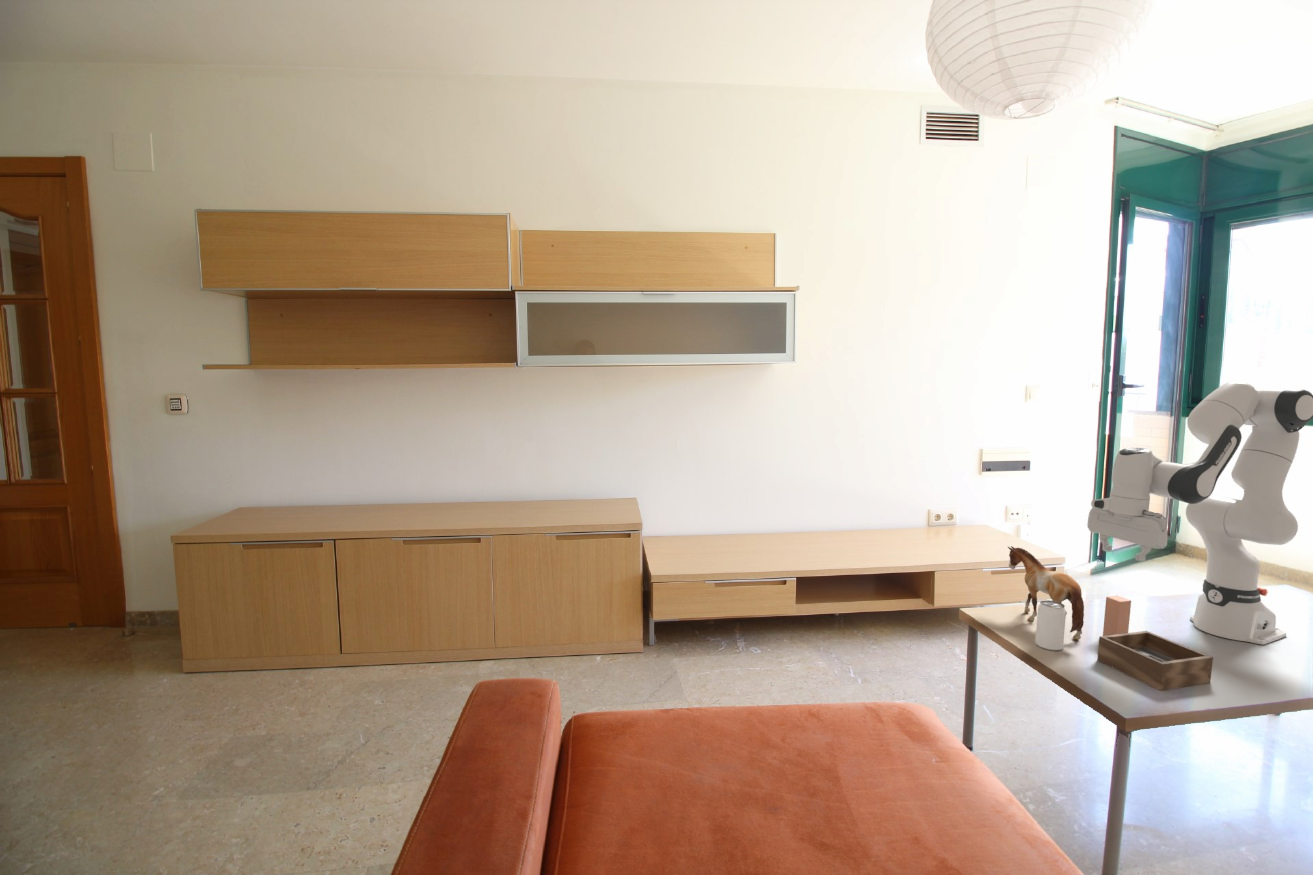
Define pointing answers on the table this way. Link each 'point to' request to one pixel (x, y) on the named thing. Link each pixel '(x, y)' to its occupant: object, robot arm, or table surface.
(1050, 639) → the can
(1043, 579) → the horse figurine
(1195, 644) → the table surface
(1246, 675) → the table surface
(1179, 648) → the wooden tray
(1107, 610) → the peg
